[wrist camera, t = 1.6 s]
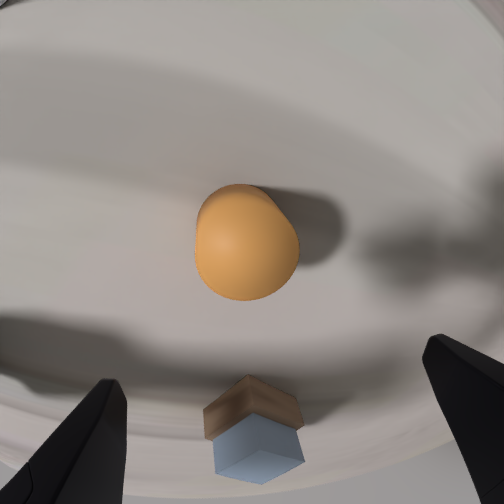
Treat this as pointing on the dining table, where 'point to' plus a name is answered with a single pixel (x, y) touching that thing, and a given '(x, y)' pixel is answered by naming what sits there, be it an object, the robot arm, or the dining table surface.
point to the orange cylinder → (244, 243)
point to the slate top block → (257, 450)
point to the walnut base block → (250, 407)
